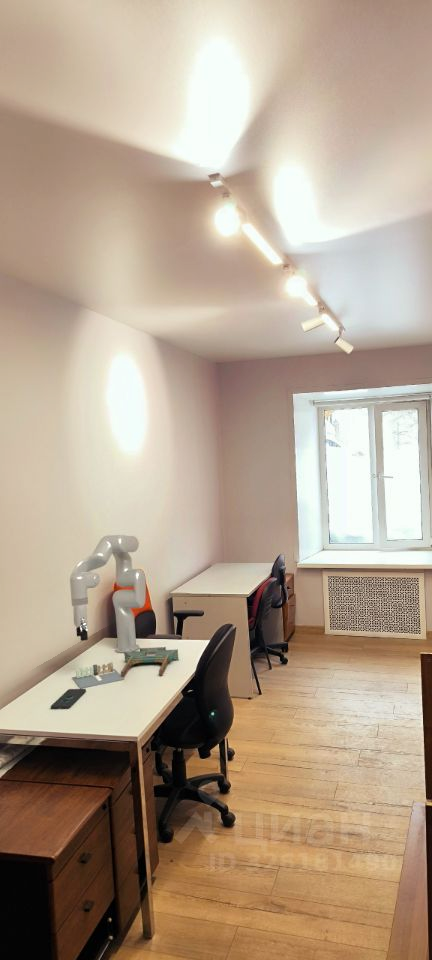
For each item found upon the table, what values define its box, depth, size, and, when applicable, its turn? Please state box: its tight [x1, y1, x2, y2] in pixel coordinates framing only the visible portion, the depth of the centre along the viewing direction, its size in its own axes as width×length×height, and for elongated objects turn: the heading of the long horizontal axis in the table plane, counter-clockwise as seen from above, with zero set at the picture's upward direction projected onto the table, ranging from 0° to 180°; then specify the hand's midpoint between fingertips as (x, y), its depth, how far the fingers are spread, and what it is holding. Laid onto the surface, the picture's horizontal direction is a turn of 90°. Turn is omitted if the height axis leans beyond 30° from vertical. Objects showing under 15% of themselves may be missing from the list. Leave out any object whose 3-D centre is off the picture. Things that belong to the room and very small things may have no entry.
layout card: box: [72, 668, 125, 689], centre depth 287 cm, size 17×20×1 cm
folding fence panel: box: [75, 666, 94, 678], centre depth 289 cm, size 8×1×4 cm, turn 114°
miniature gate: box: [120, 646, 180, 678], centre depth 300 cm, size 27×6×30 cm
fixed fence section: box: [92, 661, 114, 676], centre depth 293 cm, size 9×2×5 cm, turn 114°
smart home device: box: [50, 688, 87, 710], centre depth 262 cm, size 8×2×20 cm
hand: (82, 638), depth 293 cm, fingers open, 9 cm apart
